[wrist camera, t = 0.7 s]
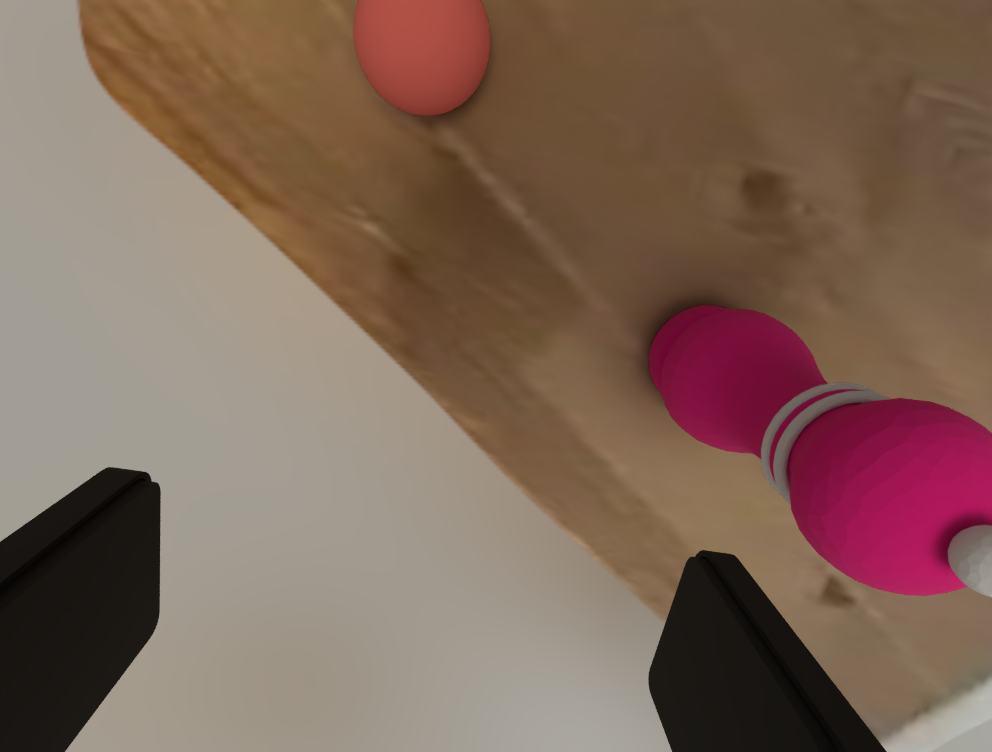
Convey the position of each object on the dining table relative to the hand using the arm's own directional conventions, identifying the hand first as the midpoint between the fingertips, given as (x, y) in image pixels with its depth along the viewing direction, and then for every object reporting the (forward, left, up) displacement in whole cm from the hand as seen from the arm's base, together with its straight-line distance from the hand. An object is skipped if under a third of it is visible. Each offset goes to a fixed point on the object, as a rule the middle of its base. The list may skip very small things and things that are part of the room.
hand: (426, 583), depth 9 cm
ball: (+2, -13, -19) cm, 24 cm away
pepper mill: (-14, +2, -23) cm, 27 cm away
